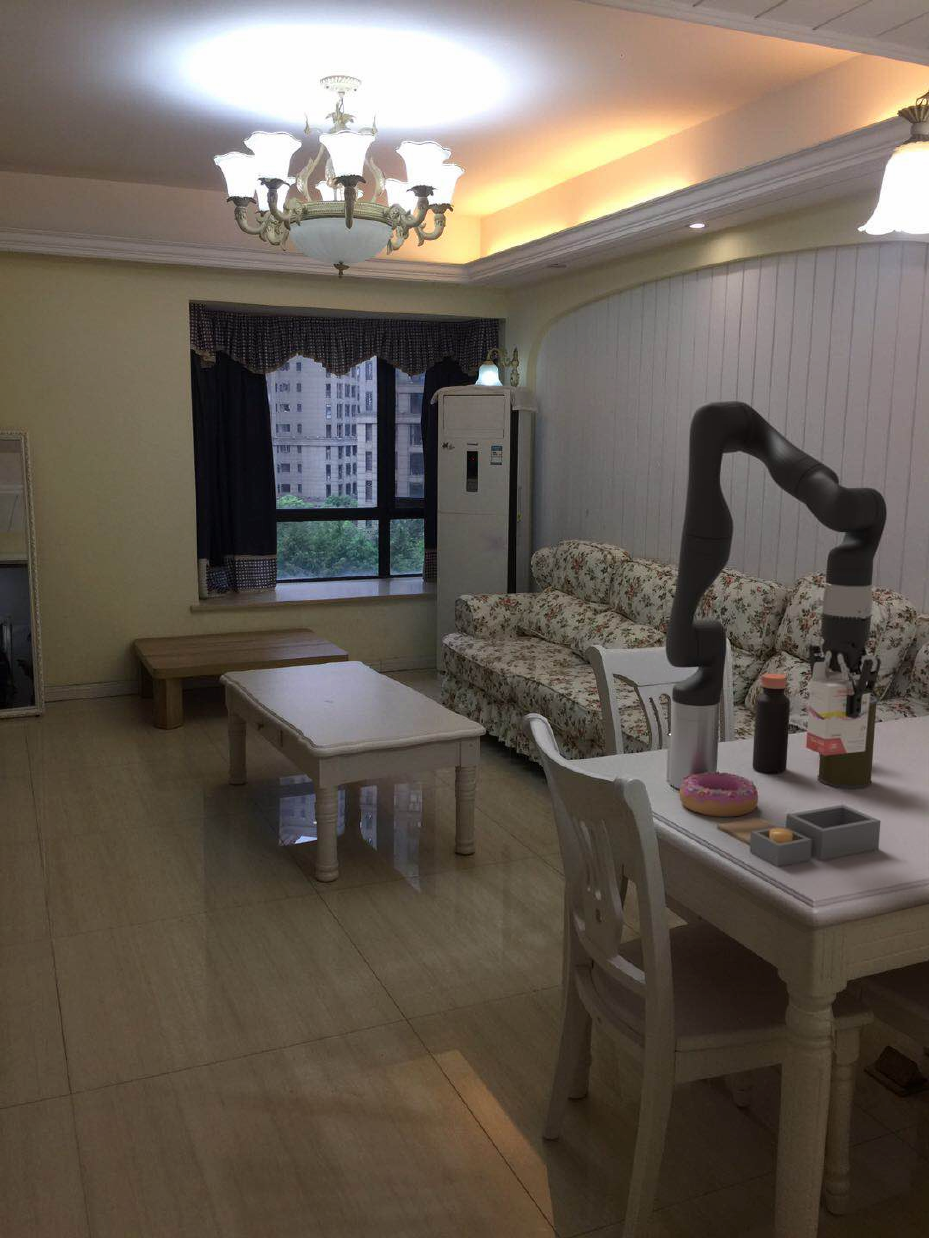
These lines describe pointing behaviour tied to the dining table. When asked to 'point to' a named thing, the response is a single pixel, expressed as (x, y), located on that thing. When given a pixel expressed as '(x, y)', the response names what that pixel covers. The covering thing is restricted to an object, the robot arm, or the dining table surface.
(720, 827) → the walnut pad
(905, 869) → the dining table surface
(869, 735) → the canister
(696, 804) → the donut
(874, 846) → the gray open bin
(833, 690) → the ink cartridge box
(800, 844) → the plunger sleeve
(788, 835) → the egg
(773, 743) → the black water bottle
